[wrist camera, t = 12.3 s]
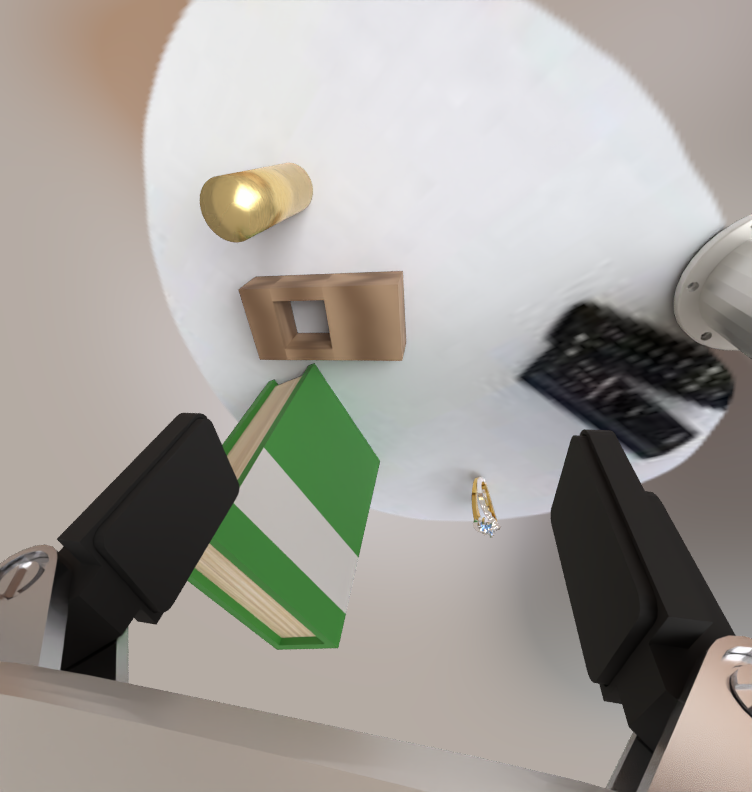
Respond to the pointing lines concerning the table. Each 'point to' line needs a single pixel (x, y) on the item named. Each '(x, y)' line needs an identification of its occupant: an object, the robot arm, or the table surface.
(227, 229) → the peg
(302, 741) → the robot arm
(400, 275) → the eye block
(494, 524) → the ring
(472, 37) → the table surface
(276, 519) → the hardback book
